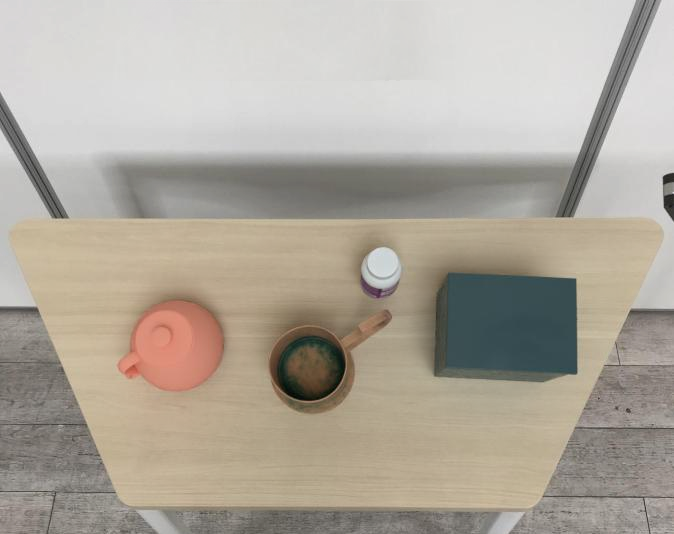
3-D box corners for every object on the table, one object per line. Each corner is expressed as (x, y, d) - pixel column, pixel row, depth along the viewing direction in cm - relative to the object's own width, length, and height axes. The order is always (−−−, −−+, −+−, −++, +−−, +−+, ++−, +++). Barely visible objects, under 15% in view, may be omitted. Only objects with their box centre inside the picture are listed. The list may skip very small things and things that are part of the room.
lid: (574, 279, 75) (576, 278, 75) (575, 374, 74) (577, 374, 73) (447, 273, 76) (448, 272, 75) (445, 368, 74) (446, 367, 73)
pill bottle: (385, 307, 86) (389, 291, 76) (353, 288, 86) (353, 269, 77) (405, 275, 86) (412, 255, 77) (373, 256, 87) (375, 234, 77)
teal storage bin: (543, 298, 85) (567, 279, 76) (543, 382, 83) (568, 374, 74) (436, 293, 86) (447, 274, 76) (434, 376, 84) (445, 368, 74)
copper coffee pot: (407, 363, 84) (417, 350, 72) (297, 429, 83) (288, 428, 71) (364, 293, 86) (366, 270, 74) (255, 357, 85) (240, 344, 73)
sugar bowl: (242, 364, 85) (228, 353, 75) (153, 416, 84) (126, 412, 74) (200, 290, 87) (180, 270, 76) (113, 340, 86) (81, 326, 76)
